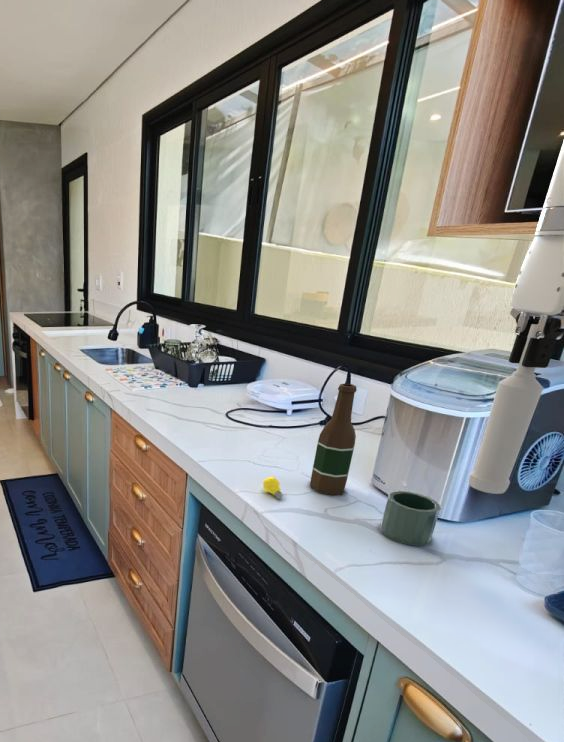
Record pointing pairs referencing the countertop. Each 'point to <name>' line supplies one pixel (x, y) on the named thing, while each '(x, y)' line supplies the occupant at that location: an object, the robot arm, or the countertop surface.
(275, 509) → the countertop surface
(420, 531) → the holder
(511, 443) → the bottle
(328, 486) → the beer bottle
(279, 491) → the light bulb
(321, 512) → the countertop surface
